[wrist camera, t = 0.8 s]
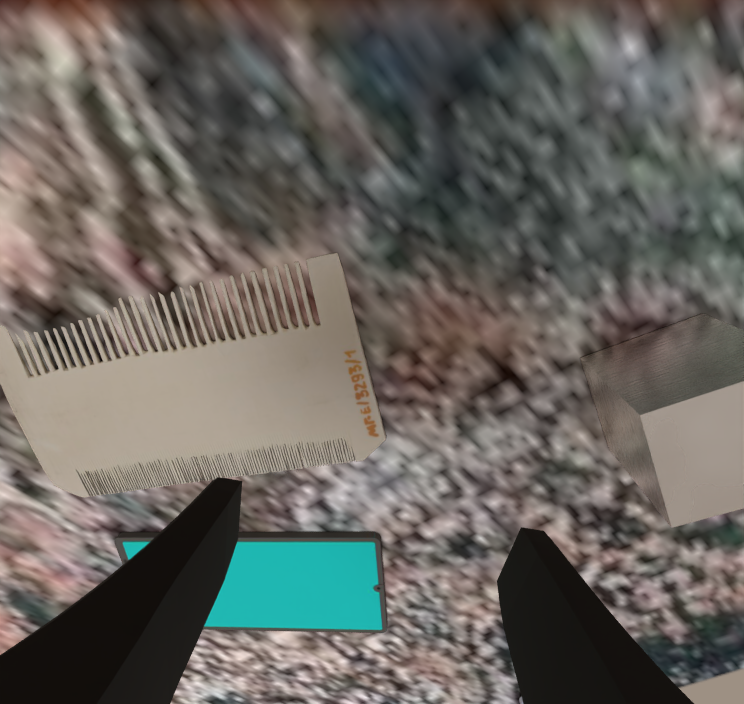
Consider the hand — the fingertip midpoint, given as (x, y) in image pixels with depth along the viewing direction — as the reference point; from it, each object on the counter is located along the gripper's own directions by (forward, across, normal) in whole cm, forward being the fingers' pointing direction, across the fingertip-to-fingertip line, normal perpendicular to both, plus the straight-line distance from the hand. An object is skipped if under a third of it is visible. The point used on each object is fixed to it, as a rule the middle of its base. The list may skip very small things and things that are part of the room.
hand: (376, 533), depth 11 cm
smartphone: (+9, +5, +15) cm, 18 cm away
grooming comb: (+10, +9, +3) cm, 14 cm away
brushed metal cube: (+9, -12, -2) cm, 15 cm away
